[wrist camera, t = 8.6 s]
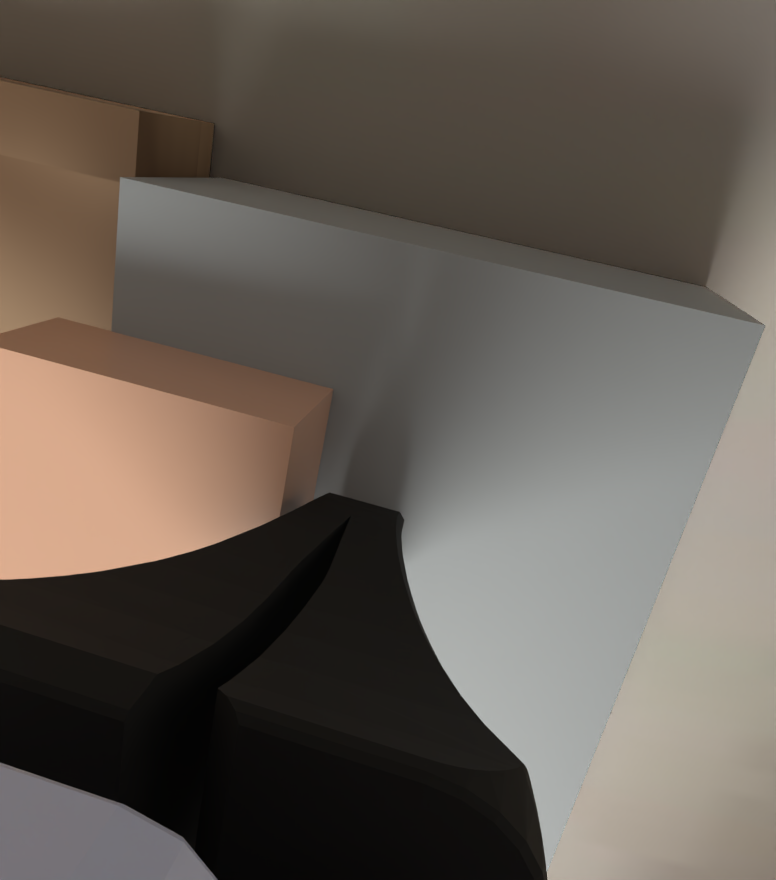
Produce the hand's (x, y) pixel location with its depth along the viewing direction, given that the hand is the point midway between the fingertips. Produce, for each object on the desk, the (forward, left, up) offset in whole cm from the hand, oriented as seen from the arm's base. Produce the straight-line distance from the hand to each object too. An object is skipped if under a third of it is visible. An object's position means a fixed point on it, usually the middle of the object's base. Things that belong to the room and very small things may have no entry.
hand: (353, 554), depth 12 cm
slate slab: (-3, 0, -5) cm, 6 cm away
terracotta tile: (0, +3, -1) cm, 4 cm away
